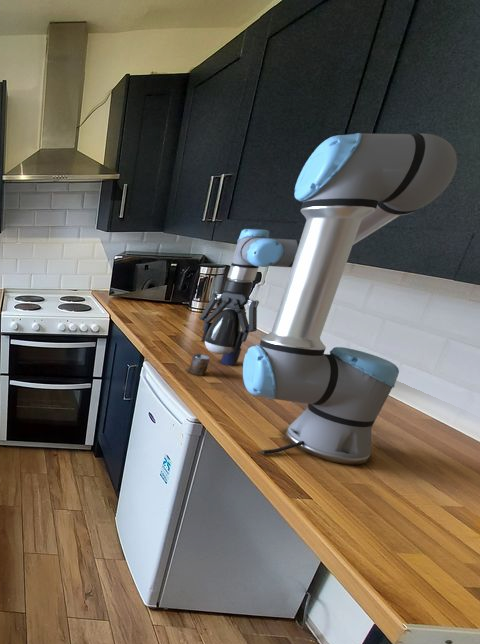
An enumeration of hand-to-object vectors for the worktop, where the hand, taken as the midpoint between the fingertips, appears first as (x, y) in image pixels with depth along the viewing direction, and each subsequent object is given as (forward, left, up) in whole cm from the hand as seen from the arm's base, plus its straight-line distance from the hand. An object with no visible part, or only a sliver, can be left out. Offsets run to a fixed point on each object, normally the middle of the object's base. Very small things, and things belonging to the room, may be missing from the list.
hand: (219, 345), depth 138 cm
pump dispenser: (0, 0, -2) cm, 2 cm away
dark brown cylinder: (-10, 0, -8) cm, 13 cm away
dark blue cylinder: (+10, 0, -8) cm, 13 cm away
